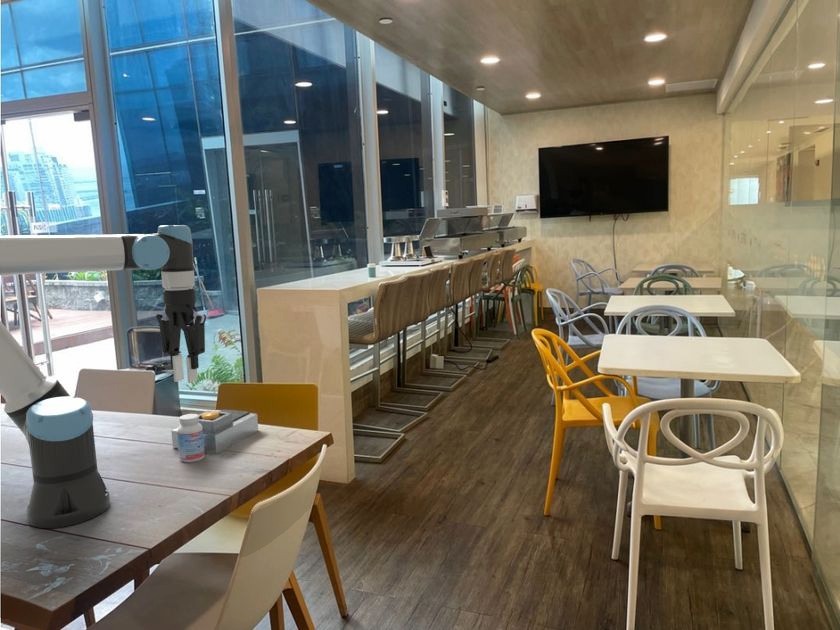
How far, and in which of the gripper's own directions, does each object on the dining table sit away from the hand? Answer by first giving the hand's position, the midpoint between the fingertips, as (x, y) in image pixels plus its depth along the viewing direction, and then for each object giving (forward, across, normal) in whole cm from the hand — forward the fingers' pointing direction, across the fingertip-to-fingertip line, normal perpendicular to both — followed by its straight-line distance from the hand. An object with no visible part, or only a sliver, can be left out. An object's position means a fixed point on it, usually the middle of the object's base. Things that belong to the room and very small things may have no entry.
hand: (185, 380), depth 155 cm
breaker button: (+19, +1, -10) cm, 22 cm away
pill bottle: (+21, 0, 0) cm, 21 cm away
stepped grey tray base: (+20, +3, -14) cm, 25 cm away
